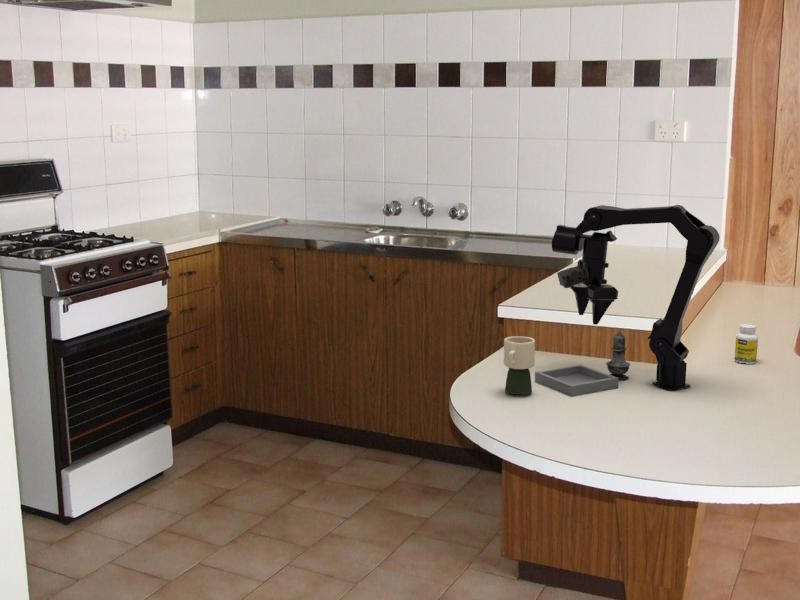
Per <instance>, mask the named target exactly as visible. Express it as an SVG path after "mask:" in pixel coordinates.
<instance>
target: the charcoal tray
mask: <svg viewBox="0 0 800 600" xmlns="http://www.w3.org/2000/svg"><path fill="white" fill-rule="evenodd" d="M534 373H535V374H534V383H536V384H539V385H542V386H544V387H546V388H548V389H551V390H554V391H556V392H559V393H561V394H563V395H566V396H569V397H571V398H572V397H577V396H583V395H588V394H593V393H599V392H603V391H610V390H611V391H612V390H616V389H618V388H619V381H618V379H619V378H617V377H614V376H611V375H609V374H610V373H609V374H608V373H606V372H603V371H600V370H597V369H595V368H592V367H588V366H587V365H586V366H585V365H583V364H577V365H571V366H565V367H557V368H552V369H546V370H540V371H535V372H534Z"/></svg>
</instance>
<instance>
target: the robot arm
mask: <svg viewBox="0 0 800 600" xmlns="http://www.w3.org/2000/svg"><path fill="white" fill-rule="evenodd" d="M667 223H669V224H671V225H672V226H674V227H675V229H676V230H677V231H678V233H680V235H681V236H682V237H683V238H684V239H686V241H687V243H686V248H685V262H684V265H683V268H682V271H681V273H680V275H679V278H678V281H677V283H676V286H675V289H674V291H673V294H672V297H671V300H670V303H669V306H668V308H667V310H666V313H665V316H664V318H663V319H662V318H658V319H657V320H656V321H655V322H653V324H652V329H651V333H650V335H649V336H648V337H647V340H649V342H648V347H649V349H650V351H651V352H652V353H653V354H654V356H655V358H656V361H657V362H656V363H657V364H656V374H655V375H656V377H655V381H652V382H651V385H652V386H656V387H659V388H661V389H664V390H667V391H676V390H682V389H686V388H687V389H688V388H691V385H690V384H689V383H686V380H687V367H688V366H687V362H685V359H687V357H688V354H689V353H690V349H688V348H687V346H686V345H685V344H684V343H683V342H682V341H681V337H682V332H683V321H684V317H685V314H686V312H687V309H688V306H689V304H690V302H691V299H692V296H693V293H694V291H695V288H696V286H697V283H698V281H699V278H700V276H701V273H702V270H703V267H704V266H705V265H706V263H707V261H708V260H709V258H710V257H711V255H712V254H713V252H714V251H715V249H716V247H717V246H718V245H719V242H720V238H721V237H720V233H719V232H718V231H719V230H717V228H715V226H712V225H708V224H707V225H706V223H704V222H703V221H702V220H700V219H699V218H698V217H697V216H695V215H694V214H693V213H691V212H690V211H688V209H686V208H685V207H684V205H681V204H675V205H670V206H669V205H667V206H653V207H652V206H649V207H637V208H635V207H634V208H631V207H630V208H623V207H617V206H611V205H601V204H600V205H597V206H592V207H589V208H587V210H586V211H585V212H584V214H583V219H582V220H581V222H580V223H579V224H578V225H577V226H576V227H574V226H567V225H565V224H558V225H556V229H555V231H554V234H553V238H552V239H551V250H552V252H553V253H560V254H566V255H567V254H568V255H578V253H579V252H582V257H581V259H578V261H577V265H576V266H573V267H568V268H567V269H563V270H561V271H558V272H557V278H558V281H559V286H562V287H563V288H565V289H570V290H571V291H573V293H574V296H575V301H576V307H577V312H578V315H579V316H583V315H584V314H585V312H586V310H587V307H588V304H589V302H591V305H592V307H591V311H592V312H591V313H592V315H591V317H592V324H593V325H598V324H599V323H600V321H601V320H602V318H603V316H604V315H605V313H606V312H607V310H608V309H609V308H610V306H611V305H612V303H613V302H615V300H618V299H619V298H618V297H619V291H618V289H617V288H616V287H615V286H613V285H611V284H607V283H608V280H607V279H606V278H605V272H606V268H609V265H610V263H608V262H607V256H608V252H607V251H608V243H609V242H610V243H613V242H615V241H617V240H618V238H617V236H616V235H615V234H614V233H613V232H612V230H608V229H612V228H616V227H619V226H623V225H627V226H628V225H644V224H645V225H647V224H649V225H650V224H667ZM606 229H607V230H608V231H607V232H599V231H603V230H606ZM589 232H593V233H592V234H585V233H589Z"/></svg>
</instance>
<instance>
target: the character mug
mask: <svg viewBox="0 0 800 600" xmlns="http://www.w3.org/2000/svg"><path fill="white" fill-rule="evenodd" d="M503 350H504V354H503V355H504V357H503V365H504V366H505V367H506V368H508V370H507V373H506V374H507V375H506V379H505V388H504V392H505V393H507V394H514V395H515V396H517V395H530V394H532V393H533V389H532V387H533V386H532V379H531V378H532V376H531V371H530V369H532V368H534V367H535V364H536V363H535V361H536V360H535V357H536V356H535V355H536V340H535V339H534V338H532V337H529V336H522V335H521V336H518V335H516V336H515V335H514V336H506V337H505V338H504V339H503Z"/></svg>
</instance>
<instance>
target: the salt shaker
mask: <svg viewBox="0 0 800 600" xmlns="http://www.w3.org/2000/svg"><path fill="white" fill-rule="evenodd" d="M612 343H613V344H612V347H611V350H612V356H611V359H610V360H608V361H606V363H605V364H606V366H607V367H606V368H607V371H608V372H609V375H611V376H614V377H617V378H619V379H618V382H619V381H620V382H621V381H622V382H624V381H628V380H629V376H628V375H626V374H627V372H628V371H629V369H630V367H631V363H630V362H628V361H626V350H627V348H626V337H625V335H623V334H622V332H621V331H620V330H619V331H618V333H617V334H614V335H613V341H612Z"/></svg>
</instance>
